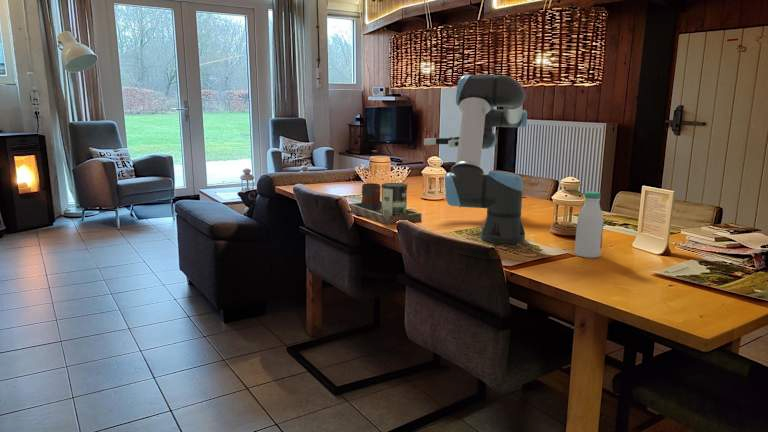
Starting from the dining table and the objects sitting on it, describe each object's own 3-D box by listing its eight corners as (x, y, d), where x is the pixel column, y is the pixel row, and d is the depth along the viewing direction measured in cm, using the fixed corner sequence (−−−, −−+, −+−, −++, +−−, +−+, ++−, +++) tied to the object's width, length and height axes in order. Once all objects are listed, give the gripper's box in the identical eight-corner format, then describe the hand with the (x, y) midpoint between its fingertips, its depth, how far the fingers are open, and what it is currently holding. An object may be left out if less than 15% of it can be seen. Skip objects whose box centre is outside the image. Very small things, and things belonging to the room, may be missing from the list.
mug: (369, 215, 231) (369, 187, 229) (357, 210, 242) (358, 183, 240) (387, 213, 235) (388, 186, 233) (375, 208, 246) (376, 182, 243)
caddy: (421, 220, 222) (421, 213, 222) (387, 224, 214) (387, 217, 213) (379, 207, 249) (379, 200, 248) (348, 210, 241) (348, 203, 240)
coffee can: (408, 217, 229) (409, 183, 226) (404, 222, 219) (405, 186, 216) (383, 215, 231) (384, 182, 228) (378, 220, 221) (379, 185, 218)
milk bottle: (597, 259, 169) (603, 195, 165) (571, 256, 173) (576, 192, 169) (602, 254, 176) (608, 191, 172) (577, 250, 180) (582, 189, 176)
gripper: (492, 151, 236) (459, 154, 222) (448, 147, 254) (415, 149, 240) (493, 133, 234) (459, 135, 220) (448, 131, 252) (415, 132, 239)
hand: (436, 142), depth 230 cm, fingers open, 13 cm apart
